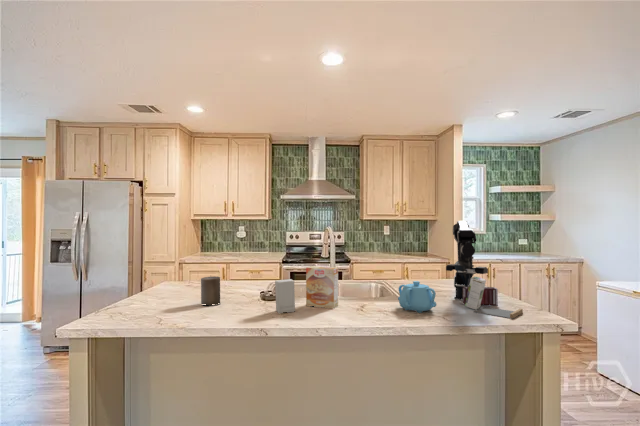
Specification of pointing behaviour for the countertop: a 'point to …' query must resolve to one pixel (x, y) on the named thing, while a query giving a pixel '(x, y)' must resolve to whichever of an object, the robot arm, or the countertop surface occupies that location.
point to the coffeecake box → (322, 286)
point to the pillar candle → (210, 290)
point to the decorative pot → (416, 297)
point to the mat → (500, 312)
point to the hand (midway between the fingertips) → (466, 286)
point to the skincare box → (285, 295)
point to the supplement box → (485, 296)
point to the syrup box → (475, 292)
